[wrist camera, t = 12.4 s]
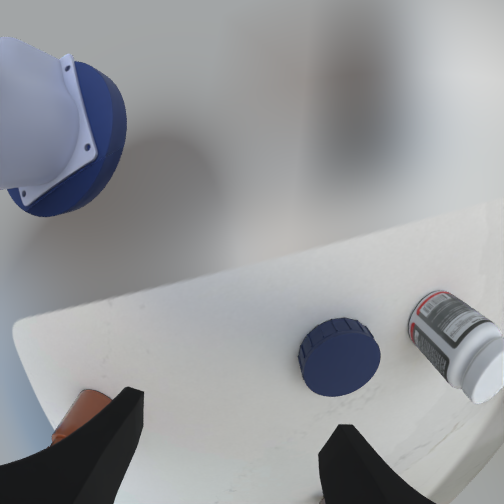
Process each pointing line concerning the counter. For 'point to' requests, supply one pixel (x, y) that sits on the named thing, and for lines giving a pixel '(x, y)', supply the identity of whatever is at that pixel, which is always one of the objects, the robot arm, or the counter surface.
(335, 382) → the lid
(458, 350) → the pill bottle
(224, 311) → the counter surface
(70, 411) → the jar
